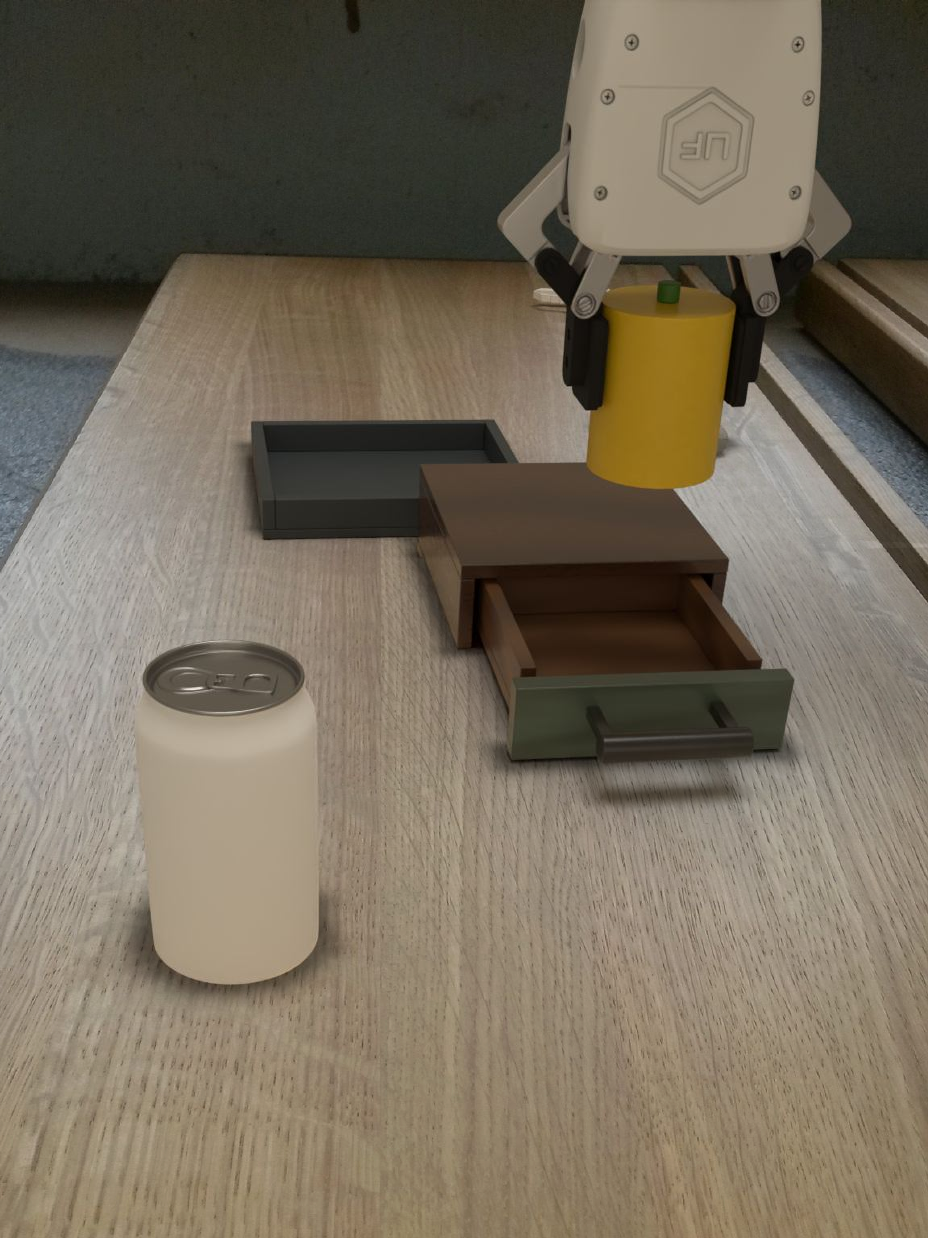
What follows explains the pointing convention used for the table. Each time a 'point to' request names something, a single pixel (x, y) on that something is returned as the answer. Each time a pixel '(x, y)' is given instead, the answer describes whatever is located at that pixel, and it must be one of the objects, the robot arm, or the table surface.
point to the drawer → (627, 670)
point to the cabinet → (549, 531)
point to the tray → (358, 472)
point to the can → (229, 810)
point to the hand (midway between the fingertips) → (657, 396)
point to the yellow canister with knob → (661, 386)
